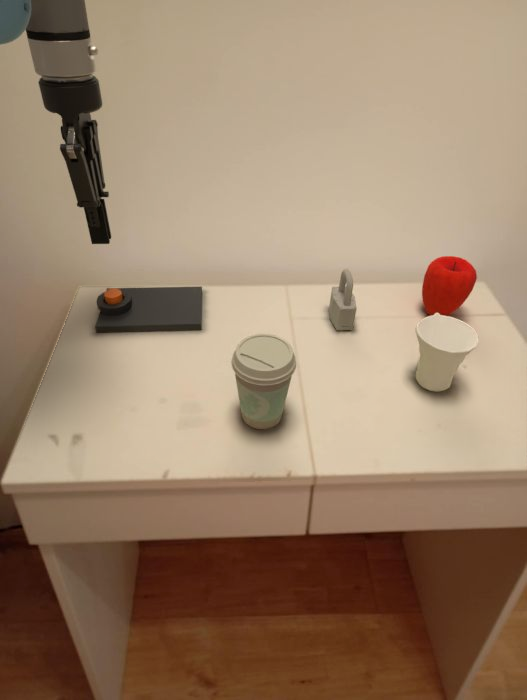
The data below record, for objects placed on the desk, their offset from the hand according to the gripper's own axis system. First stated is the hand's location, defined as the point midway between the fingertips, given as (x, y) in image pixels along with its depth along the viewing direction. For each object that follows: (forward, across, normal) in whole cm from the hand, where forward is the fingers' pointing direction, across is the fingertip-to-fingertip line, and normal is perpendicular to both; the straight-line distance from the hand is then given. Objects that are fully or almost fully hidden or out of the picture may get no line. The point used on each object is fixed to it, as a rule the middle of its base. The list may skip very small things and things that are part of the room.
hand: (101, 240), depth 77 cm
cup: (+15, -20, -52) cm, 58 cm away
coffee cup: (+15, -26, -24) cm, 39 cm away
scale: (+14, 0, -6) cm, 16 cm away
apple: (+15, -2, -60) cm, 62 cm away
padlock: (+15, -4, -41) cm, 44 cm away
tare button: (+12, 0, 0) cm, 12 cm away
